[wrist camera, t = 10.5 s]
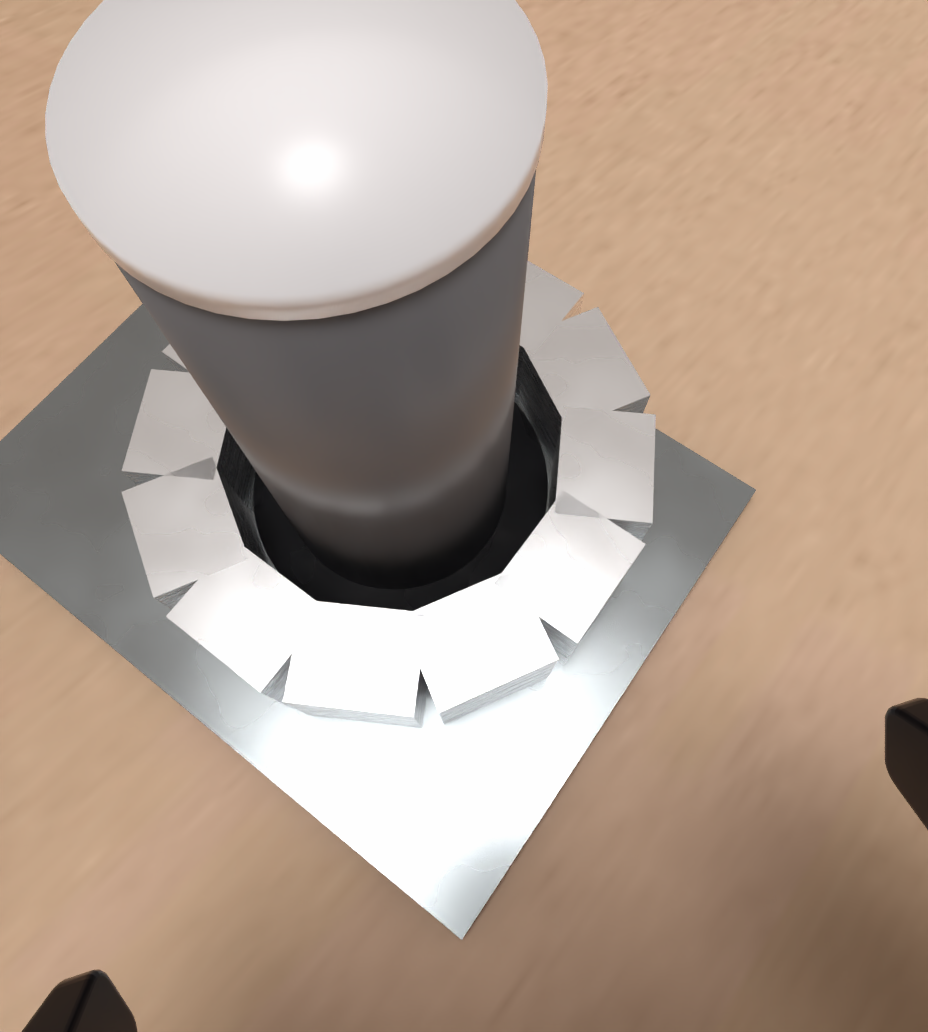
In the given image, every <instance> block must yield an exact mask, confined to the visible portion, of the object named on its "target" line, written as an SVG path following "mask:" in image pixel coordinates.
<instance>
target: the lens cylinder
mask: <svg viewBox="0 0 928 1032" xmlns="http://www.w3.org/2000/svg"><path fill="white" fill-rule="evenodd" d="M547 86H548V83H547V76H546V68H545V60H544V57H543V54H542V51H541V47H540V44H539V41H538V38H537V36H536V34H535V32H534V30H533V28H532V26H531V24H530V22H529V20H528V18H527V16H526V14H525V13H524V12H523V10H522V9H521V8H520V6H519V5H518V3H517V2H516V1H515V0H104V1H103V2H102V3H101V4H100V5H99V6H98V7H97V8H96V9H95V10H94V12H93V13H92V14H91V15H90V16H89V17H88V18H87V19H86V20H85V22H84V23H83V24H82V26H81V27H80V29H79V30H78V31H77V33H76V34H75V36H74V37H73V38H72V40H71V41H70V43H69V45H68V47H67V48H66V50H65V52H64V54H63V56H62V58H61V60H60V62H59V64H58V66H57V69H56V72H55V75H54V78H53V81H52V83H51V86H50V90H49V96H48V101H47V107H46V113H45V118H46V143H47V148H48V154H49V159H50V164H51V166H52V169H53V171H54V174H55V177H56V179H57V182H58V185H59V187H60V189H61V190H62V192H63V194H64V195H65V197H66V199H67V200H68V202H69V204H70V205H71V207H72V208H73V210H74V212H75V213H76V214H77V216H78V217H79V219H80V220H81V222H82V223H83V225H84V226H85V228H86V229H87V230H88V232H89V233H90V235H91V236H92V238H93V239H94V240H95V241H96V242H97V243H98V245H99V246H100V247H101V248H102V249H103V250H104V252H105V253H106V254H107V255H108V256H109V257H110V258H111V259H112V260H113V261H114V262H115V263H116V265H117V266H118V268H119V269H120V271H121V272H122V273H123V275H124V276H125V278H126V279H127V281H128V282H129V284H130V285H131V287H132V288H133V290H134V291H135V293H136V294H137V296H138V297H139V299H140V300H141V302H142V303H143V305H144V306H145V308H146V309H147V311H148V312H149V313H150V315H151V316H152V318H153V319H154V321H155V322H156V324H157V325H158V327H159V328H160V330H161V331H162V333H163V334H164V336H165V337H166V339H167V340H168V342H169V343H170V345H171V346H172V348H173V349H174V351H175V352H176V354H177V355H178V356H179V358H180V359H181V361H182V362H183V364H184V365H185V367H186V368H187V370H188V371H189V373H190V374H191V376H192V377H193V379H194V380H195V382H196V383H197V385H198V386H199V388H200V389H201V391H202V392H203V394H204V395H205V396H206V398H207V399H208V401H209V402H210V404H211V405H212V407H213V408H214V410H215V411H216V413H217V414H218V416H219V417H220V419H221V420H222V422H223V423H224V425H225V426H226V428H227V429H228V431H229V432H230V434H231V435H232V436H233V438H234V439H235V441H236V442H237V444H238V445H239V447H240V448H241V450H242V451H243V453H244V454H245V456H246V457H247V459H248V460H249V462H250V463H251V465H252V466H253V468H254V469H255V471H256V472H257V474H258V475H259V476H260V478H261V479H262V481H263V482H264V484H265V485H266V487H267V488H268V490H269V491H270V493H271V494H272V496H273V497H274V499H275V500H276V502H277V503H278V505H279V506H280V508H281V509H282V511H283V512H284V514H285V515H286V516H287V518H288V519H289V521H290V522H291V524H292V525H293V527H294V528H295V530H296V531H297V533H298V534H299V536H300V537H301V539H302V540H303V542H304V543H305V545H306V546H307V548H308V549H309V550H310V551H311V552H312V554H313V555H314V556H315V557H316V558H317V559H318V560H319V561H320V562H321V563H322V564H323V565H325V566H326V567H327V568H328V569H330V570H331V571H333V572H334V573H336V574H337V575H339V576H341V577H343V578H345V579H347V580H349V581H351V582H354V583H357V584H360V585H363V586H367V587H372V588H377V589H390V590H398V589H410V588H416V587H421V586H425V585H428V584H431V583H434V582H437V581H439V580H441V579H444V578H446V577H448V576H450V575H452V574H453V573H455V572H456V571H458V570H460V569H461V568H463V567H464V566H465V565H466V564H468V563H469V562H470V561H471V560H472V559H474V558H475V557H476V555H477V554H478V553H479V552H480V551H481V550H482V549H483V548H484V546H485V545H486V544H487V542H488V541H489V539H490V538H491V536H492V535H493V533H494V531H495V529H496V527H497V525H498V523H499V520H500V517H501V514H502V511H503V507H504V502H505V495H506V485H507V474H508V463H509V452H510V442H511V431H512V420H513V410H514V399H515V388H516V378H517V367H518V356H519V345H520V335H521V324H522V313H523V303H524V292H525V281H526V271H527V260H528V249H529V238H530V228H531V217H532V206H533V196H534V185H535V174H536V168H537V165H538V162H539V157H540V153H541V148H542V144H543V138H544V128H545V118H546V108H547Z"/></svg>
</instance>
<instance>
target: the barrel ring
mask: <svg viewBox="0 0 928 1032" xmlns="http://www.w3.org/2000/svg"><path fill="white" fill-rule="evenodd" d="M583 295H584V293H582V292H581V291H579V290H577V289H575V288H574V287H572V286H570V285H569V284H567V283H565V282H563V281H562V280H560V279H558V278H557V277H555V276H553V275H551V274H550V273H548V272H546V271H544V270H543V269H541V268H539V267H538V266H536V265H534V264H532V263H531V262H529V261H527V271H526V281H525V292H524V303H523V313H522V324H521V335H520V345H519V356H518V367H517V378H516V388H515V399H514V410H513V420H512V431H511V442H510V452H509V463H508V474H507V485H506V495H505V502H504V507H503V511H502V514H501V517H500V520H499V523H498V525H497V527H496V529H495V531H494V533H493V535H492V536H491V538H490V539H489V541H488V542H487V544H486V545H485V546H484V548H483V549H482V550H481V551H480V552H479V553H478V554H477V555H476V557H475V558H474V559H472V560H471V561H470V562H469V563H468V564H466V565H465V566H464V567H463V568H461V569H460V570H458V571H456V572H455V573H453V574H452V575H450V576H448V577H446V578H444V579H441V580H439V581H437V582H434V583H431V584H428V585H425V586H421V587H416V588H410V589H398V590H390V589H377V588H372V587H367V586H363V585H360V584H357V583H354V582H351V581H349V580H347V579H345V578H343V577H341V576H339V575H337V574H336V573H334V572H333V571H331V570H330V569H328V568H327V567H326V566H325V565H323V564H322V563H321V562H320V561H319V560H318V559H317V558H316V557H315V556H314V555H313V554H312V552H311V551H310V550H309V549H308V548H307V546H306V545H305V543H304V542H303V540H302V539H301V537H300V536H299V534H298V533H297V531H296V530H295V528H294V527H293V525H292V524H291V522H290V521H289V519H288V518H287V516H286V515H285V514H284V512H283V511H282V509H281V508H280V506H279V505H278V503H277V502H276V500H275V499H274V497H273V496H272V494H271V493H270V491H269V490H268V488H267V487H266V485H265V484H264V482H263V481H262V479H261V478H260V476H259V475H258V474H257V472H256V471H255V469H254V468H253V466H252V465H251V463H250V462H249V460H248V459H247V457H246V456H245V454H244V453H243V451H242V450H241V448H240V447H239V445H238V444H237V442H236V441H235V439H234V438H233V436H232V435H231V434H230V432H229V431H228V429H227V428H226V426H225V425H224V423H223V422H222V420H221V419H220V417H219V416H218V414H217V413H216V411H215V410H214V408H213V407H212V405H211V404H210V402H209V401H208V399H207V398H206V396H205V395H204V394H203V392H202V391H201V389H200V388H199V386H198V385H197V383H196V382H195V380H194V379H193V377H192V376H191V374H190V373H189V371H188V370H187V368H186V367H185V365H184V364H183V362H182V361H181V359H180V358H179V356H178V355H177V354H176V352H175V351H174V349H173V348H172V346H171V345H170V343H169V342H168V340H167V339H166V337H165V336H164V334H163V333H162V331H161V330H160V328H159V327H158V325H157V324H156V322H155V321H154V319H153V318H152V316H151V315H150V313H149V312H148V311H147V309H146V308H145V306H144V305H143V304H142V305H141V306H140V307H139V308H138V309H137V310H136V311H135V312H134V313H133V314H132V315H131V316H129V317H128V318H127V319H126V320H125V321H124V322H123V323H122V324H121V325H120V326H119V327H118V328H117V329H116V330H115V331H114V332H113V333H112V334H111V335H110V336H109V337H108V338H107V339H106V340H105V341H104V342H103V343H102V344H100V345H99V346H98V347H97V348H96V349H95V350H94V351H93V352H92V353H91V354H90V355H89V356H88V357H87V358H86V359H85V360H84V361H83V362H82V363H81V364H80V365H79V366H78V367H77V368H76V369H75V370H74V371H73V372H72V373H70V374H69V375H68V376H67V377H66V378H65V379H64V380H63V381H62V382H61V383H60V384H59V385H58V386H57V387H56V388H55V389H54V390H53V391H52V392H51V393H50V394H49V395H48V396H47V397H46V398H45V399H44V400H43V401H42V402H40V403H39V404H38V405H37V406H36V407H35V408H34V409H33V410H32V411H31V412H30V413H29V414H28V415H27V416H26V417H25V418H24V419H23V420H22V421H21V422H20V423H19V424H18V425H17V426H16V427H15V428H14V429H13V430H11V431H10V432H9V433H8V434H7V435H6V436H5V437H4V438H3V439H2V440H1V441H0V554H1V555H2V556H3V557H5V558H6V559H7V560H8V561H9V562H11V563H12V564H13V565H14V566H15V567H17V568H18V569H19V570H20V571H21V572H23V573H24V574H25V575H26V576H27V577H29V578H30V579H31V580H32V581H33V582H35V583H36V584H37V585H38V586H39V587H40V588H42V589H43V590H44V591H45V592H46V593H48V594H49V595H50V596H51V597H52V598H54V599H55V600H56V601H57V602H58V603H60V604H61V605H62V606H63V607H64V608H66V609H67V610H68V611H69V612H70V613H72V614H73V615H74V616H75V617H76V618H78V619H79V620H80V621H81V622H82V623H84V624H85V625H86V626H87V627H88V628H90V629H91V630H92V631H93V632H94V633H95V634H97V635H98V636H99V637H100V638H101V639H103V640H104V641H105V642H106V643H107V644H109V645H110V646H111V647H112V648H113V649H115V650H116V651H117V652H118V653H119V654H121V655H122V656H123V657H124V658H125V659H127V660H128V661H129V662H130V663H131V664H133V665H134V666H135V667H136V668H137V669H139V670H140V671H141V672H142V673H143V674H145V675H146V676H147V677H148V678H149V679H150V680H152V681H153V682H154V683H155V684H156V685H158V686H159V687H160V688H161V689H162V690H164V691H165V692H166V693H167V694H168V695H170V696H171V697H172V698H173V699H174V700H176V701H177V702H178V703H179V704H180V705H182V706H183V707H184V708H185V709H186V710H188V711H189V712H190V713H191V714H192V715H194V716H195V717H196V718H197V719H198V720H199V721H201V722H202V723H203V724H204V725H205V726H207V727H208V728H209V729H210V730H211V731H213V732H214V733H215V734H216V735H217V736H219V737H220V738H221V739H222V740H223V741H225V742H226V743H227V744H228V745H229V746H231V747H232V748H233V749H234V750H235V751H237V752H238V753H239V754H240V755H241V756H243V757H244V758H245V759H246V760H247V761H249V762H250V763H251V764H252V765H253V766H254V767H256V768H257V769H258V770H259V771H260V772H262V773H263V774H264V775H265V776H266V777H268V778H269V779H270V780H271V781H272V782H274V783H275V784H276V785H277V786H278V787H280V788H281V789H282V790H283V791H284V792H286V793H287V794H288V795H289V796H290V797H292V798H293V799H294V800H295V801H296V802H298V803H299V804H300V805H301V806H302V807H304V808H305V809H306V810H307V811H308V812H309V813H311V814H312V815H313V816H314V817H315V818H317V819H318V820H319V821H320V822H321V823H323V824H324V825H325V826H326V827H327V828H329V829H330V830H331V831H332V832H333V833H335V834H336V835H337V836H338V837H339V838H341V839H342V840H343V841H344V842H345V843H347V844H348V845H349V846H350V847H351V848H353V849H354V850H355V851H356V852H357V853H359V854H360V855H361V856H362V857H363V858H364V859H366V860H367V861H368V862H369V863H370V864H372V865H373V866H374V867H375V868H376V869H378V870H379V871H380V872H381V873H382V874H384V875H385V876H386V877H387V878H388V879H390V880H391V881H392V882H393V883H394V884H396V885H397V886H398V887H399V888H400V889H402V890H403V891H404V892H405V893H406V894H408V895H409V896H410V897H411V898H412V899H413V900H415V901H416V902H417V903H418V904H419V905H421V906H422V907H423V908H424V909H425V910H427V911H428V912H429V913H430V914H431V915H433V916H434V917H435V918H436V919H437V920H439V921H440V922H441V923H442V924H443V925H445V926H446V927H447V928H448V929H449V930H451V931H452V932H453V933H454V934H455V935H457V936H458V937H459V938H460V939H461V940H462V939H463V937H464V936H465V934H466V933H467V931H468V930H469V928H470V927H471V925H472V923H473V922H474V920H475V919H476V917H477V916H478V914H479V913H480V911H481V910H482V908H483V907H484V905H485V904H486V902H487V901H488V899H489V897H490V896H491V894H492V893H493V891H494V890H495V888H496V887H497V885H498V884H499V882H500V881H501V879H502V878H503V876H504V875H505V873H506V871H507V870H508V868H509V867H510V865H511V864H512V862H513V861H514V859H515V858H516V856H517V855H518V853H519V852H520V850H521V849H522V847H523V846H524V844H525V842H526V841H527V839H528V838H529V836H530V835H531V833H532V832H533V830H534V829H535V827H536V826H537V824H538V823H539V821H540V820H541V818H542V816H543V815H544V813H545V812H546V810H547V809H548V807H549V806H550V804H551V803H552V801H553V800H554V798H555V797H556V795H557V794H558V792H559V790H560V789H561V787H562V786H563V784H564V783H565V781H566V780H567V778H568V777H569V775H570V774H571V772H572V771H573V769H574V768H575V766H576V764H577V763H578V761H579V760H580V758H581V757H582V755H583V754H584V752H585V751H586V749H587V748H588V746H589V745H590V743H591V742H592V740H593V739H594V737H595V735H596V734H597V732H598V731H599V729H600V728H601V726H602V725H603V723H604V722H605V720H606V719H607V717H608V716H609V714H610V713H611V711H612V709H613V708H614V706H615V705H616V703H617V702H618V700H619V699H620V697H621V696H622V694H623V693H624V691H625V690H626V688H627V687H628V685H629V683H630V682H631V680H632V679H633V677H634V676H635V674H636V673H637V671H638V670H639V668H640V667H641V665H642V664H643V662H644V661H645V659H646V657H647V656H648V654H649V653H650V651H651V650H652V648H653V647H654V645H655V644H656V642H657V641H658V639H659V638H660V636H661V635H662V633H663V632H664V630H665V628H666V627H667V625H668V624H669V622H670V621H671V619H672V618H673V616H674V615H675V613H676V612H677V610H678V609H679V607H680V606H681V604H682V602H683V601H684V599H685V598H686V596H687V595H688V593H689V592H690V590H691V589H692V587H693V586H694V584H695V583H696V581H697V580H698V578H699V576H700V575H701V573H702V572H703V570H704V569H705V567H706V566H707V564H708V563H709V561H710V560H711V558H712V557H713V555H714V554H715V552H716V551H717V549H718V547H719V546H720V544H721V543H722V541H723V540H724V538H725V537H726V535H727V534H728V532H729V531H730V529H731V528H732V526H733V525H734V523H735V521H736V520H737V518H738V517H739V515H740V514H741V512H742V511H743V509H744V508H745V506H746V505H747V503H748V502H749V500H750V499H751V497H752V495H753V494H754V492H755V491H756V490H755V489H754V488H752V487H751V486H749V485H747V484H746V483H744V482H742V481H741V480H739V479H737V478H736V477H734V476H733V475H731V474H729V473H728V472H726V471H724V470H723V469H721V468H719V467H718V466H716V465H715V464H713V463H711V462H710V461H708V460H706V459H705V458H703V457H701V456H700V455H698V454H697V453H695V452H693V451H692V450H690V449H688V448H687V447H685V446H683V445H682V444H680V443H679V442H677V441H675V440H674V439H672V438H670V437H669V436H667V435H665V434H664V433H662V432H661V431H659V430H657V429H656V428H655V422H656V415H654V414H643V411H644V409H645V407H646V404H647V402H648V400H649V397H650V393H649V392H648V390H647V388H646V387H645V385H644V383H643V382H642V380H641V378H640V377H639V375H638V373H637V372H636V370H635V368H634V367H633V365H632V363H631V362H630V360H629V358H628V357H627V355H626V353H625V352H624V350H623V348H622V347H621V345H620V343H619V341H618V340H617V338H616V336H615V335H614V333H613V331H612V330H611V328H610V326H609V325H608V323H607V321H606V320H605V318H604V316H603V315H602V313H601V311H600V310H599V308H598V307H597V308H594V309H591V310H589V311H586V312H584V313H581V314H580V309H581V304H582V299H583Z"/></svg>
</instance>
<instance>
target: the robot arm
mask: <svg viewBox="0 0 928 1032" xmlns="http://www.w3.org/2000/svg"><path fill="white" fill-rule="evenodd" d="M885 764H886V768H887V771H888V773H889V775H890V777H891V779H892V781H893V782H894V784H895V785H896V787H897V788H898V790H899V791H900V792H901V794H902V795H903V796H904V798H905V799H906V801H907V802H908V803H909V805H910V806H911V808H912V809H913V810H914V812H915V813H916V814H917V816H918V817H919V819H920V820H921V821H922V823H923V824H924V825H925V827H926V828H927V830H928V699H926V698H916V699H913V700H910V701H907V702H904V703H901V704H898V705H895V706H892V707H890V708H889V709H888V711H887V713H886V715H885ZM22 1032H137V1027H136V1022H135V1019H134V1016H133V1014H132V1012H131V1011H130V1009H129V1008H128V1006H127V1004H126V1003H125V1001H124V1000H123V998H122V997H121V995H120V994H119V992H118V991H117V989H116V987H115V986H114V984H113V983H112V981H111V980H110V978H109V977H108V975H107V974H106V973H105V972H103V971H101V970H92V971H89V972H86V973H83V974H80V975H77V976H74V977H71V978H68V979H65V980H63V981H62V982H60V983H59V984H58V985H57V986H56V987H55V988H54V989H53V990H52V991H51V993H50V994H49V995H48V997H47V998H46V999H45V1001H44V1002H43V1003H42V1005H41V1006H40V1007H39V1009H38V1010H37V1012H36V1013H35V1014H34V1016H33V1017H32V1018H31V1020H30V1021H29V1022H28V1024H27V1025H26V1026H25V1028H24V1029H23V1030H22Z"/></svg>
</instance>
